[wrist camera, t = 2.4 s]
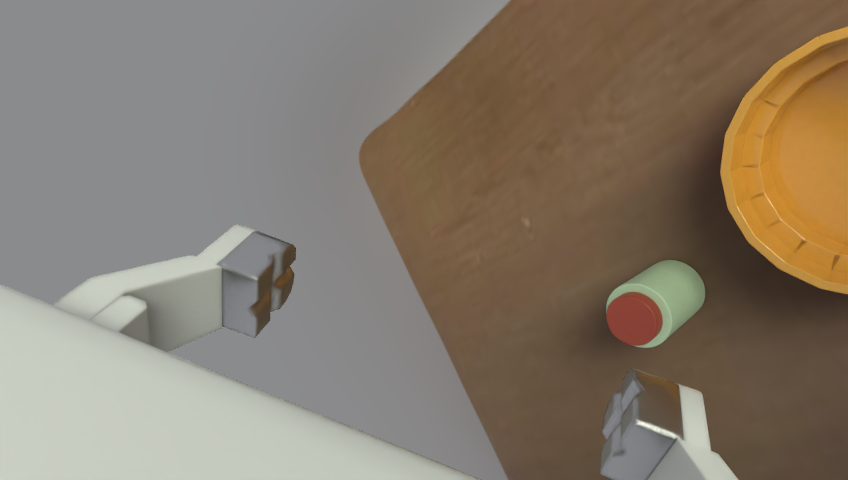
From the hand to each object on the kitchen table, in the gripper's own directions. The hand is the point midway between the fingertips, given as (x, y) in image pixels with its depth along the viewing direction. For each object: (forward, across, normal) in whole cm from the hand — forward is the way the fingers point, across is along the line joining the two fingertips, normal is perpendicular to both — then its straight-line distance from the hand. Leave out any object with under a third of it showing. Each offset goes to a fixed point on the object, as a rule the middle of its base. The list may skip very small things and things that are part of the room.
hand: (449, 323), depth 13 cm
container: (+26, -12, +13) cm, 31 cm away
